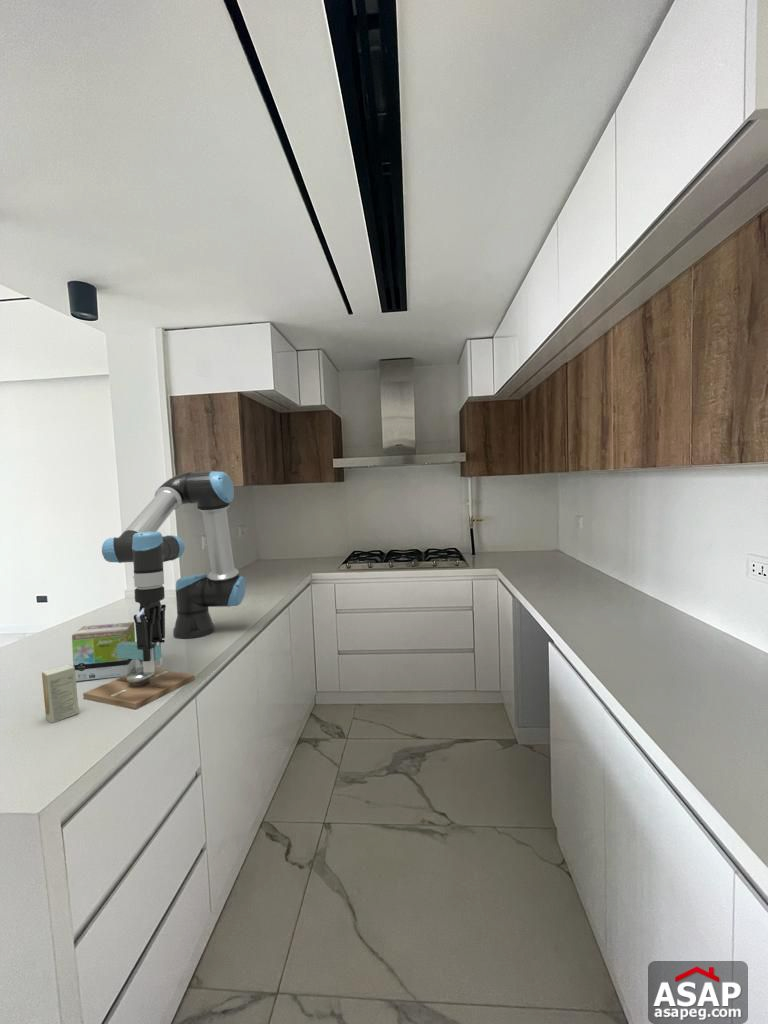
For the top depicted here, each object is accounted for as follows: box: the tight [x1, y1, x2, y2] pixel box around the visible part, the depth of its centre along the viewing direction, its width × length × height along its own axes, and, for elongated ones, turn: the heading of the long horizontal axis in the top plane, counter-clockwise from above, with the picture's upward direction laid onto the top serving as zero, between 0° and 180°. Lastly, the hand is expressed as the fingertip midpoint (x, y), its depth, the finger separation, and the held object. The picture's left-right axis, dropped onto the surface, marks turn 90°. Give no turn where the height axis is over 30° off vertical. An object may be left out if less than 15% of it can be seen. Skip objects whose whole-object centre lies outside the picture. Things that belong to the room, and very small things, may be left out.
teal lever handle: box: [117, 641, 163, 682], centre depth 133 cm, size 7×13×10 cm, turn 75°
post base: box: [82, 667, 196, 710], centre depth 133 cm, size 20×20×3 cm
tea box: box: [71, 621, 136, 683], centre depth 145 cm, size 15×10×15 cm, turn 105°
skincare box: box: [41, 663, 80, 724], centre depth 117 cm, size 6×4×12 cm
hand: (152, 668), depth 132 cm, fingers open, 3 cm apart
